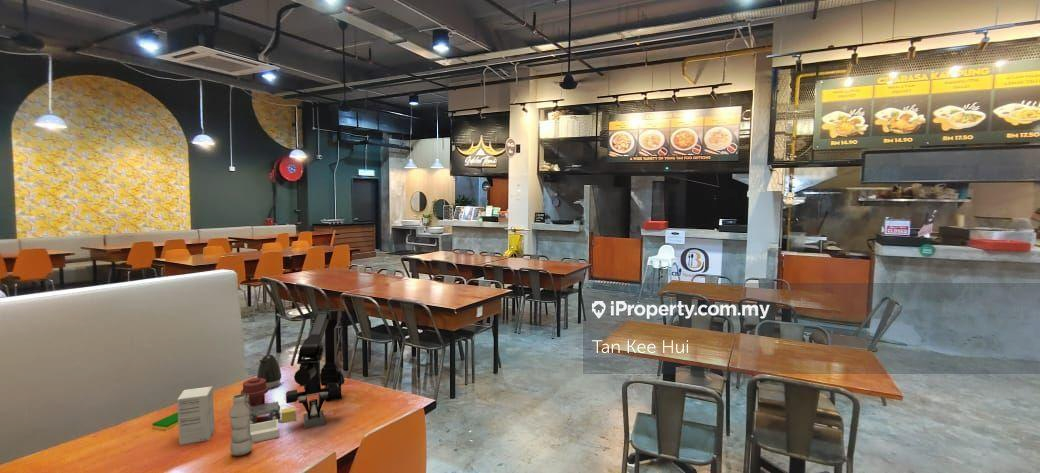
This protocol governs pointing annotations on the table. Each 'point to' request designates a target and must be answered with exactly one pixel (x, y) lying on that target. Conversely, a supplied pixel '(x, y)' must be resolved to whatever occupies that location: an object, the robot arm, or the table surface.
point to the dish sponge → (166, 422)
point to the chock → (288, 414)
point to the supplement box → (195, 415)
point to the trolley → (264, 411)
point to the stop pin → (313, 408)
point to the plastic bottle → (240, 426)
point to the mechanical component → (255, 391)
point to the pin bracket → (314, 420)
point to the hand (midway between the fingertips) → (313, 414)
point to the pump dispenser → (269, 370)
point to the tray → (264, 431)
